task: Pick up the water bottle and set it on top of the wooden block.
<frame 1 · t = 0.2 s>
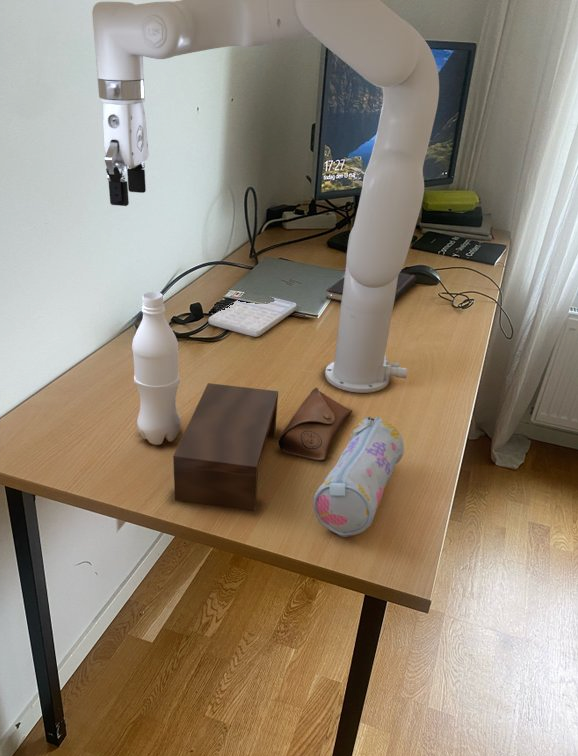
hand: (128, 198, 120), 31 cm above the table, tool pointing down, fingers open, 9 cm apart
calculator: (253, 317, 155), on the table
pencil case: (356, 499, 100), on the table
water bottle: (159, 437, 112), on the table
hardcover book: (371, 292, 171), on the table
sunglasses case: (316, 431, 115), on the table
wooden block: (229, 463, 106), on the table
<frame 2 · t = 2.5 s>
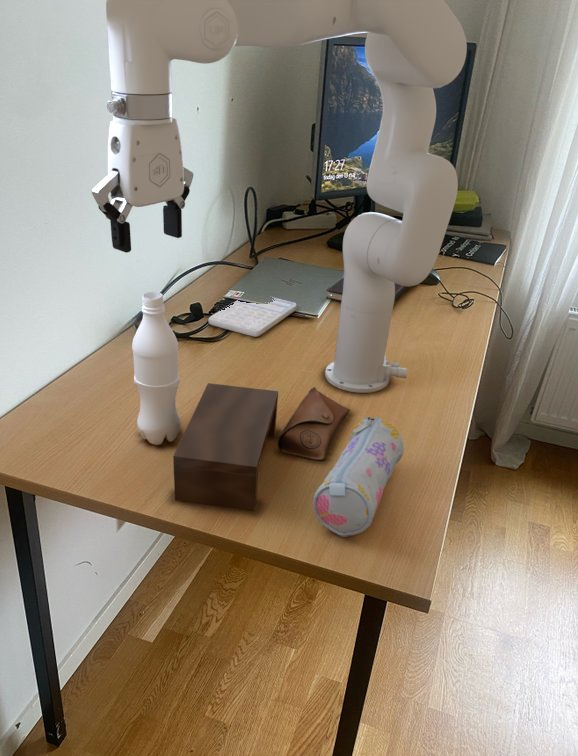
hand: (148, 242, 94), 33 cm above the table, tool pointing down, fingers open, 9 cm apart
nothing on the table moved.
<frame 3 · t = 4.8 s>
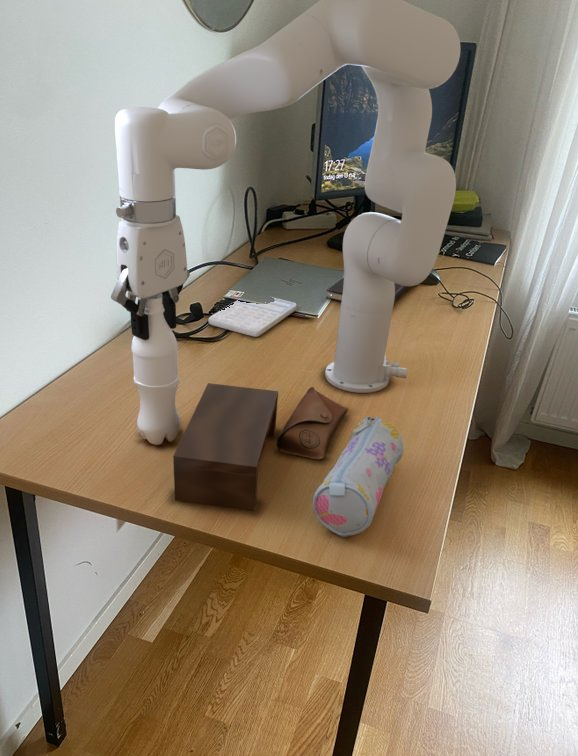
hand: (154, 330, 101), 19 cm above the table, tool pointing down, fingers closed on water bottle, 4 cm apart
water bottle: (159, 437, 112), on the table, touching gripper
everything else where it was.
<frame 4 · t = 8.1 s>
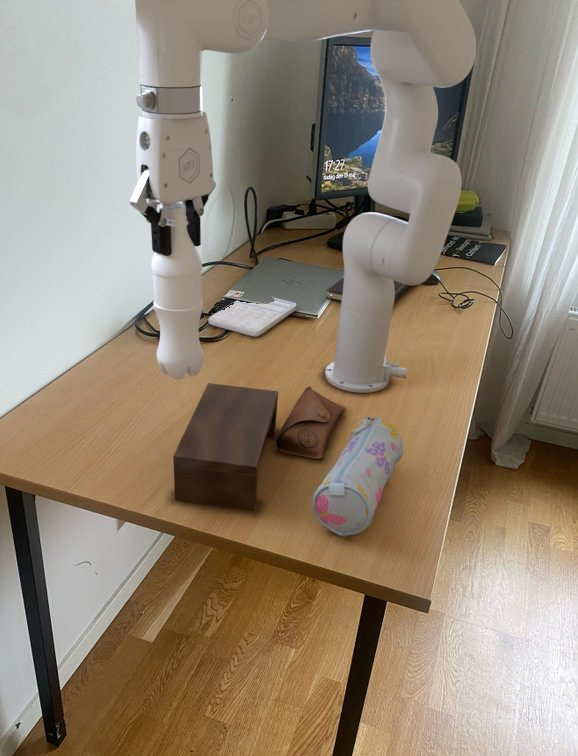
hand: (176, 247, 92), 33 cm above the table, tool pointing down, fingers closed on water bottle, 4 cm apart
water bottle: (180, 372, 103), point 13 cm above the table, touching gripper
everything else where it was.
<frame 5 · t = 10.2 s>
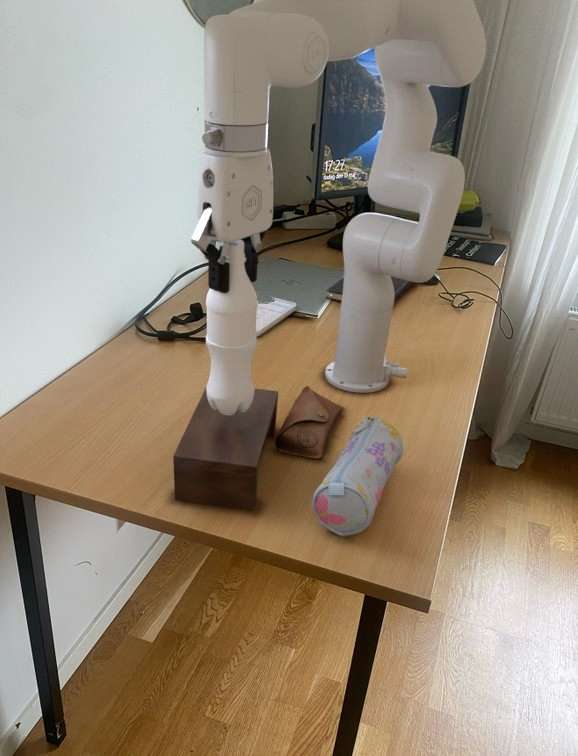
hand: (232, 283, 89), 30 cm above the table, tool pointing down, fingers closed on water bottle, 4 cm apart
water bottle: (230, 408, 100), point 10 cm above the table, touching gripper
when the fingers open (27 cm above the table, at t = 11.4 s): water bottle stays where it is, resting on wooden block.
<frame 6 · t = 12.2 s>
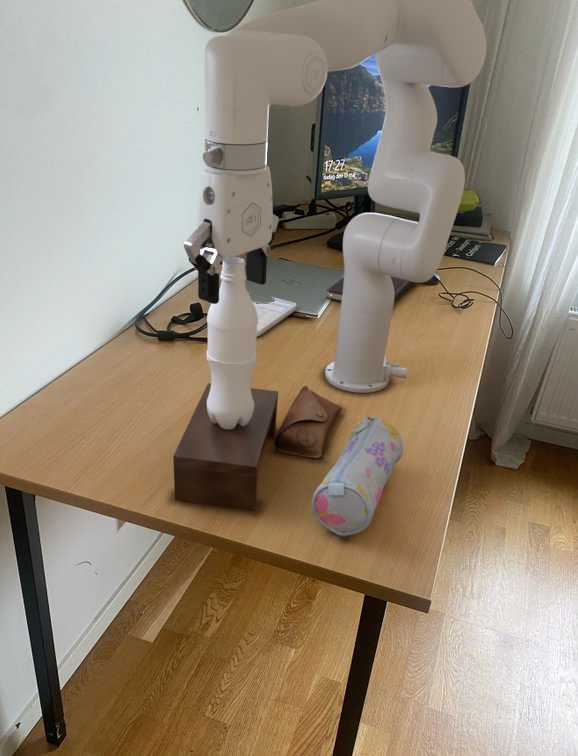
hand: (232, 291, 90), 29 cm above the table, tool pointing down, fingers open, 9 cm apart
water bottle: (230, 421, 102), point 8 cm above the table, touching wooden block
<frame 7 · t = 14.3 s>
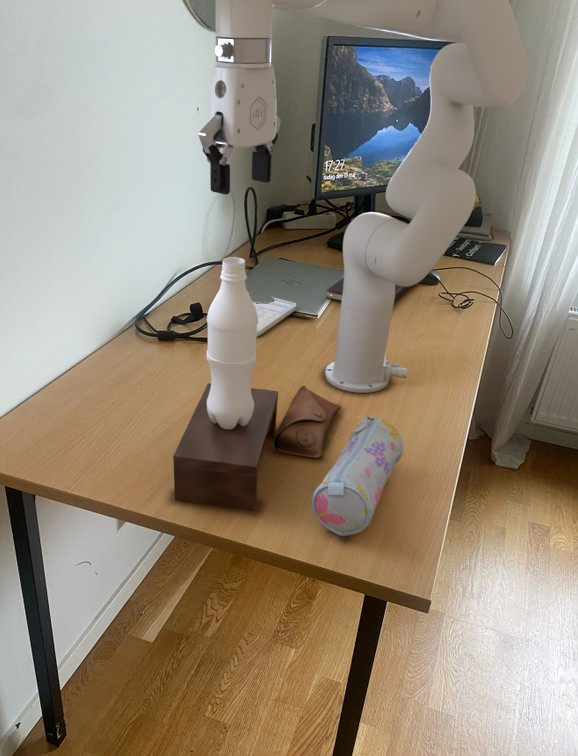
hand: (241, 186, 99), 38 cm above the table, tool pointing down, fingers open, 9 cm apart
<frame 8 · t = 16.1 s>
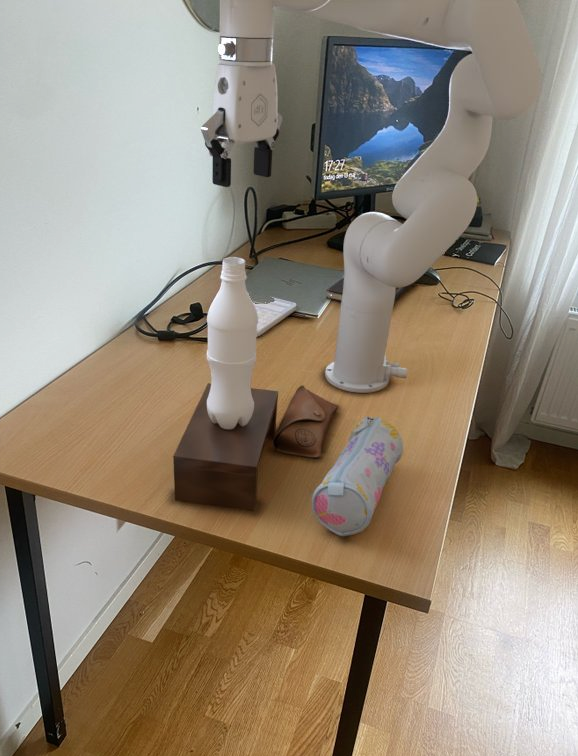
hand: (242, 180, 103), 38 cm above the table, tool pointing down, fingers open, 9 cm apart
at the end: water bottle inside the target area on the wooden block (0.0 cm from its centre), point 7.8 cm above the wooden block's base; water bottle tilted 0°; the gripper is holding nothing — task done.
